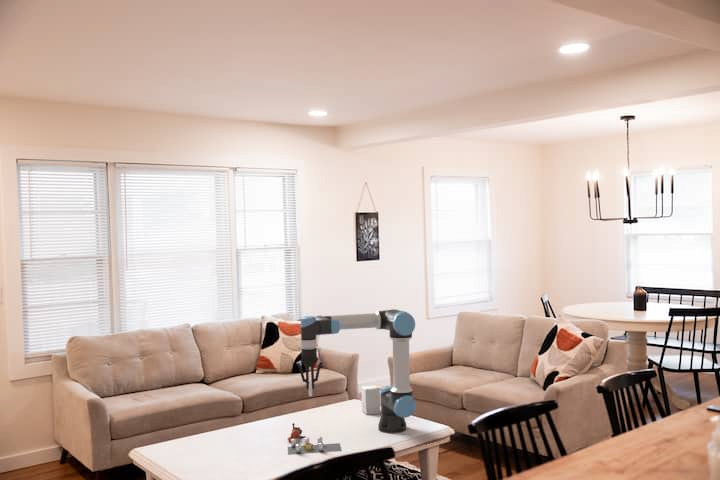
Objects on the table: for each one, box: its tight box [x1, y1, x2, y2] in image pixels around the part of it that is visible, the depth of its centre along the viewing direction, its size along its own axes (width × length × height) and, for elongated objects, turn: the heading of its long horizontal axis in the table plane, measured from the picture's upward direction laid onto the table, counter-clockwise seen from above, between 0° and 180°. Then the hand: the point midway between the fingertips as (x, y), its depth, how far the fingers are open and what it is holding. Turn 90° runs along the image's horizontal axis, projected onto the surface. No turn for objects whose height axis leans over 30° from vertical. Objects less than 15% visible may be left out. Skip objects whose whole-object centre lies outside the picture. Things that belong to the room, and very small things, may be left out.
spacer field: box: [290, 436, 324, 455], centre depth 325 cm, size 15×11×4 cm
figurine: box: [287, 423, 306, 443], centre depth 343 cm, size 10×8×15 cm
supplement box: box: [360, 384, 381, 416], centre depth 390 cm, size 9×9×15 cm
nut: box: [303, 442, 314, 451], centre depth 325 cm, size 5×4×2 cm
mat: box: [287, 443, 343, 456], centre depth 325 cm, size 26×12×1 cm, turn 96°
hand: (310, 395), depth 327 cm, fingers closed
